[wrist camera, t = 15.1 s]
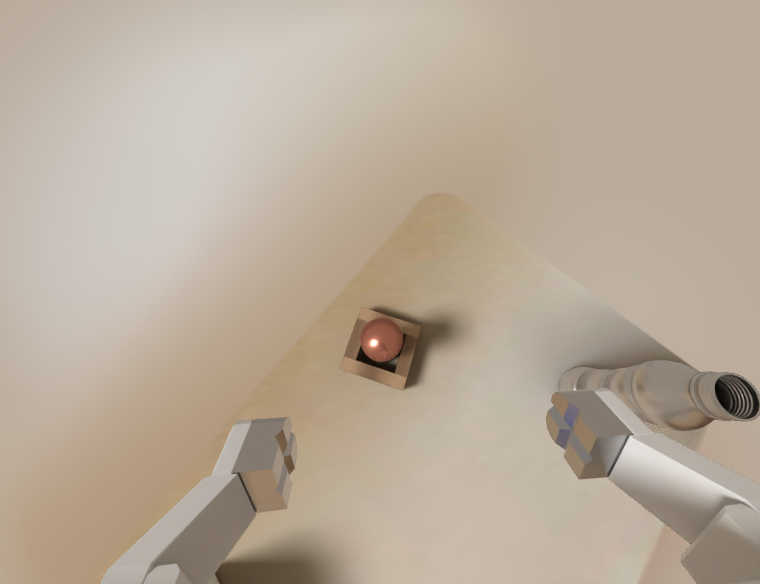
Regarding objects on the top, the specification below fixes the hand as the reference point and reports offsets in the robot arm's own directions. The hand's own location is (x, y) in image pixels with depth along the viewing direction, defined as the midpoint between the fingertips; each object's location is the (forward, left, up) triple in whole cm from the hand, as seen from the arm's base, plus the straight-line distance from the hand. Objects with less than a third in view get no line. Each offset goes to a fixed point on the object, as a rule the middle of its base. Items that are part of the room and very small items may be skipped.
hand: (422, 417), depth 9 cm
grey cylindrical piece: (+3, -5, -34) cm, 35 cm away
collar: (+3, -5, -34) cm, 35 cm away
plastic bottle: (-25, -8, -35) cm, 44 cm away
